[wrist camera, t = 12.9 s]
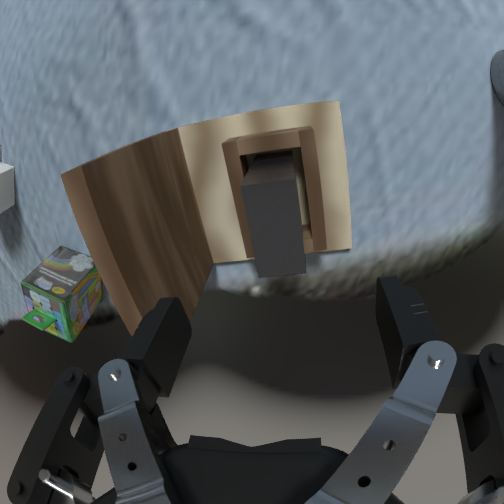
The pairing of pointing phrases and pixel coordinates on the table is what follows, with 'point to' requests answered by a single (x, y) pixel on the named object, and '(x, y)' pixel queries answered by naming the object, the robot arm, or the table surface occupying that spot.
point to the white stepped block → (6, 186)
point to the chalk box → (62, 293)
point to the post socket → (202, 201)
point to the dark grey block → (274, 215)
